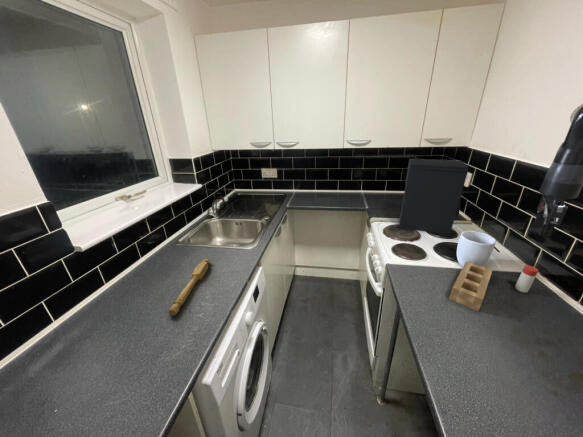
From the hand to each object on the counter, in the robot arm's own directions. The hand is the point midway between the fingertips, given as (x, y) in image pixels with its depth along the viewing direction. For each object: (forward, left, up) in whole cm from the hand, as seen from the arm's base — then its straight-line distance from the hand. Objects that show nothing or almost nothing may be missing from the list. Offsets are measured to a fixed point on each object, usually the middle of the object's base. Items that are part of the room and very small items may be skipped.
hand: (540, 230), depth 71 cm
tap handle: (+88, +77, -24) cm, 119 cm away
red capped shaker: (-2, -3, -24) cm, 24 cm away
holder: (+11, +9, -24) cm, 28 cm away
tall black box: (+39, -37, -24) cm, 59 cm away
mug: (+14, -9, -24) cm, 29 cm away
